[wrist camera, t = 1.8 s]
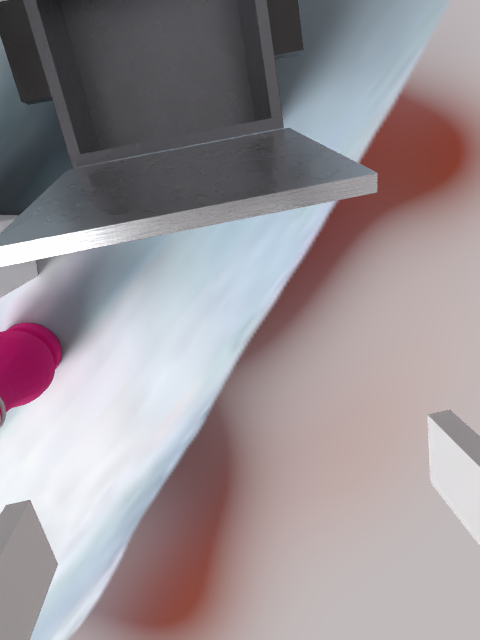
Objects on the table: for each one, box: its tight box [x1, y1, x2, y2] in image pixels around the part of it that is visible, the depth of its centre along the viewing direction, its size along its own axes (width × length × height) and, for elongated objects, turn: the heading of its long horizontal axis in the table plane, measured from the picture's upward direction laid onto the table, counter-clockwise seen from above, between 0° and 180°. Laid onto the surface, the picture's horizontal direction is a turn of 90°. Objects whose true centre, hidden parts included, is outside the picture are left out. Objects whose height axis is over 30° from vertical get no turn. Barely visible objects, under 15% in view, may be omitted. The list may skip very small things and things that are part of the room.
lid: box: [0, 128, 377, 267], centre depth 24 cm, size 16×16×3 cm
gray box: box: [0, 0, 303, 168], centre depth 33 cm, size 16×21×9 cm
